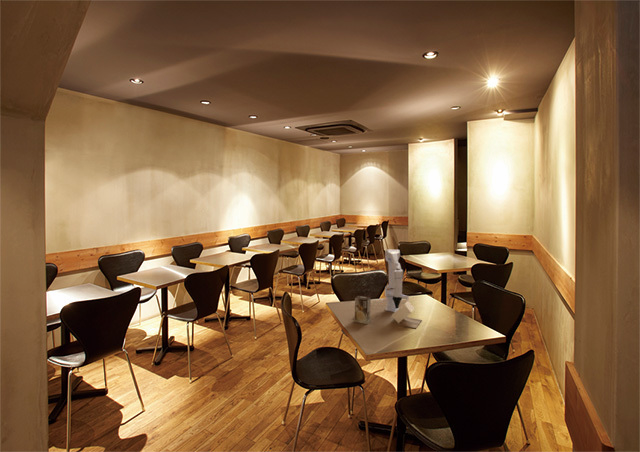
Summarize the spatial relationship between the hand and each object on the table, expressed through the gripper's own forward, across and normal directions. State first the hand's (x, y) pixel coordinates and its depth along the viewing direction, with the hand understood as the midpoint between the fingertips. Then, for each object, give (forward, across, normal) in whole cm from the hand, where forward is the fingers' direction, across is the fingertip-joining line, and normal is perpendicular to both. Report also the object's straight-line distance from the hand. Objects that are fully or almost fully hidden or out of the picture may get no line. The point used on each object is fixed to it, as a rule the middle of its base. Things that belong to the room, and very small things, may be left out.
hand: (397, 308), depth 222 cm
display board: (+8, +9, 0) cm, 12 cm away
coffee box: (+9, -19, -14) cm, 25 cm away
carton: (+6, 0, 0) cm, 6 cm away
